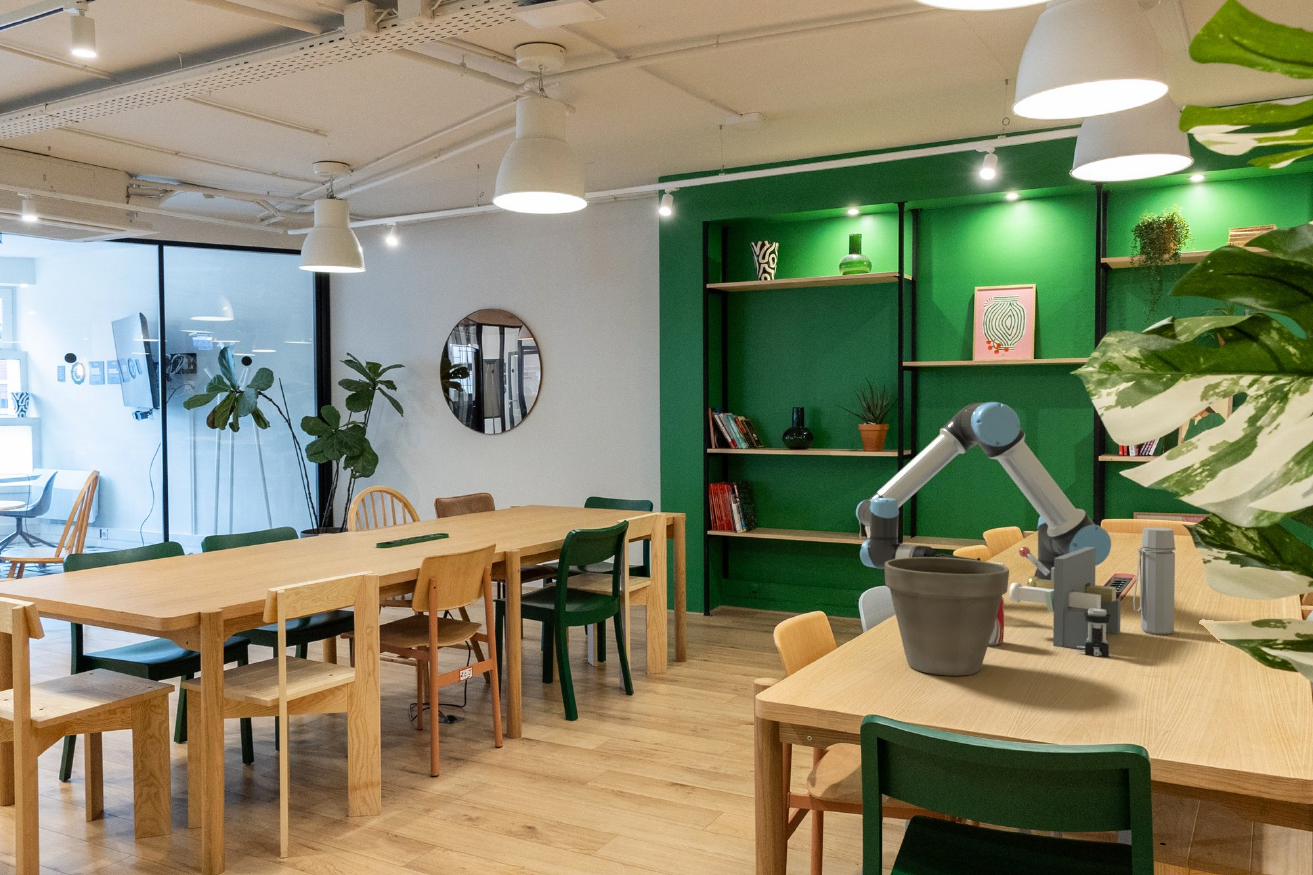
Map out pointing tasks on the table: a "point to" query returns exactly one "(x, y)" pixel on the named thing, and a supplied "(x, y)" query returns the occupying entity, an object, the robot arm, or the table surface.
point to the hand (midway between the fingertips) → (1003, 569)
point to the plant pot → (945, 610)
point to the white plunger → (1038, 594)
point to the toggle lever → (1033, 560)
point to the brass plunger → (1104, 591)
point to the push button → (1096, 632)
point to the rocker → (1050, 600)
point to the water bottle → (1157, 580)
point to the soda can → (998, 627)
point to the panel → (1073, 577)
